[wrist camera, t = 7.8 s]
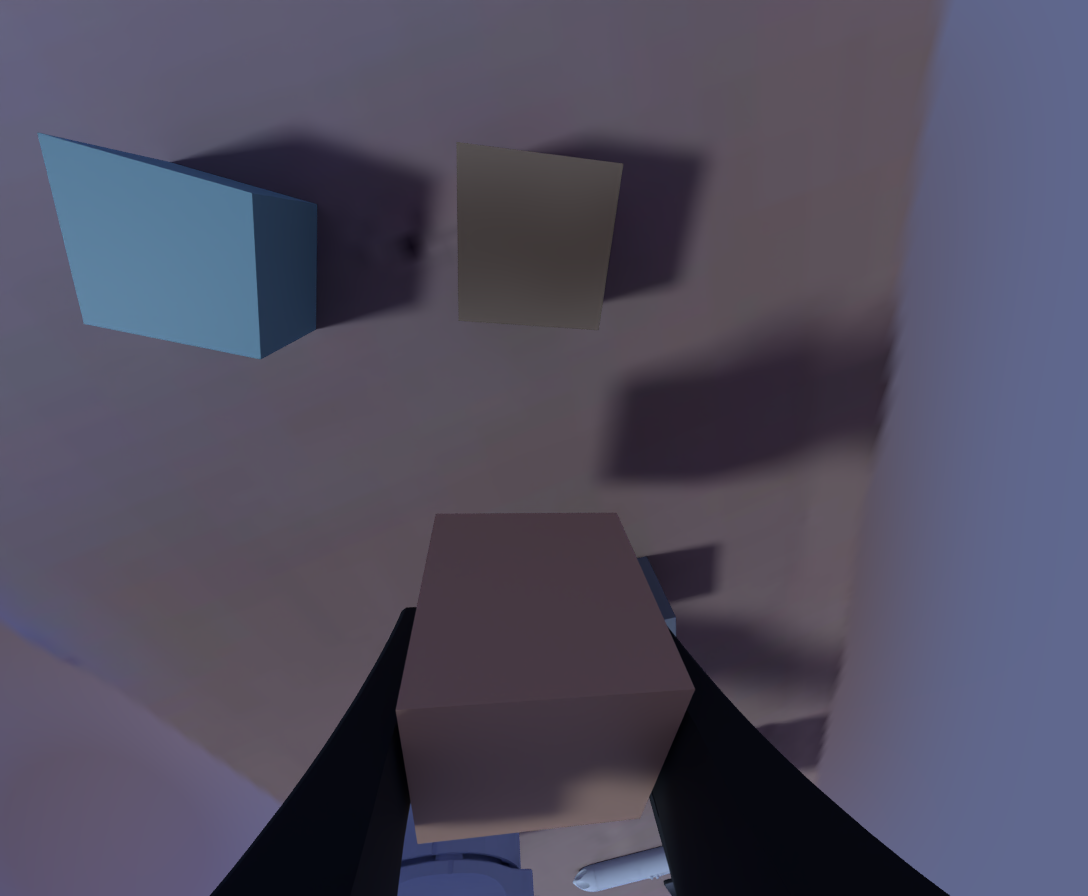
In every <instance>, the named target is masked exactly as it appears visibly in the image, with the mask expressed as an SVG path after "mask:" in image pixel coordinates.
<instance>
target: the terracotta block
mask: <svg viewBox="0 0 1088 896" xmlns="http://www.w3.org/2000/svg"><path fill="white" fill-rule="evenodd" d="M694 691H695V688H694V685H693V683H692V681H691V679H690V676H689V674H688V672H687V670H686V667H685V665H684V663H683V661H682V658H681V656H680V654H679V652H678V649H677V647H676V645H675V643H674V640H673V638H672V636H671V634H670V631H669V629H668V627H667V625H666V622H665V620H664V618H663V616H662V614H661V611H660V609H659V607H658V605H657V602H656V600H655V598H654V596H653V593H652V591H651V589H650V587H649V584H648V582H647V580H646V578H645V575H644V573H643V571H642V569H641V566H640V564H639V562H638V560H637V557H636V555H635V553H634V551H633V548H632V546H631V544H630V542H629V539H628V537H627V535H626V533H625V530H624V528H623V526H622V524H621V521H620V519H619V517H618V515H617V513H497V514H436V516H435V521H434V525H433V530H432V535H431V540H430V545H429V550H428V555H427V560H426V564H425V569H424V574H423V579H422V584H421V589H420V594H419V599H418V603H417V608H416V613H415V618H414V623H413V628H412V633H411V638H410V643H409V647H408V652H407V657H406V662H405V667H404V672H403V677H402V682H401V686H400V691H399V696H398V701H397V706H396V716H397V722H398V728H399V734H400V740H401V746H402V752H403V758H404V764H405V770H406V777H407V783H408V789H409V795H410V801H411V807H412V813H413V819H414V825H415V832H416V838H417V844H423V843H432V842H440V841H449V840H458V839H466V838H475V837H484V836H492V835H501V834H510V833H518V832H527V831H536V830H544V829H553V828H562V827H570V826H579V825H588V824H596V823H605V822H614V821H623V820H631V819H640V818H641V815H642V813H643V811H644V808H645V806H646V804H647V801H648V799H649V796H650V794H651V792H652V789H653V787H654V785H655V782H656V780H657V778H658V775H659V773H660V771H661V768H662V766H663V764H664V761H665V759H666V757H667V754H668V752H669V749H670V747H671V745H672V742H673V740H674V738H675V735H676V733H677V731H678V728H679V726H680V724H681V721H682V719H683V717H684V714H685V712H686V710H687V707H688V705H689V703H690V700H691V698H692V695H693V693H694Z"/></svg>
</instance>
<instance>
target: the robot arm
mask: <svg viewBox="0 0 1088 896" xmlns="http://www.w3.org/2000/svg"><path fill="white" fill-rule="evenodd" d="M416 608H417V607H410V608H405V609H404V610H402V612H401V614H400V616H399V619H398V621H397V623H396V625H395V627H394V629H393V631H392V633H391V635H390V637H389V639H388V641H387V643H386V645H385V647H384V649H383V651H382V652H381V654H380V656H379V658H378V660H377V662H376V663H375V665H374V667H373V669H372V670H371V672H370V674H369V675H368V677H367V679H366V681H365V682H364V684H363V686H362V687H361V689H360V691H359V693H358V694H357V696H356V698H355V699H354V701H353V702H352V704H351V706H350V707H349V709H348V710H347V712H346V713H345V715H344V716H343V718H342V719H341V721H340V723H339V724H338V726H337V727H336V729H335V730H334V732H333V733H332V735H331V736H330V738H329V739H328V741H327V743H326V744H325V745H324V747H323V748H322V750H321V751H320V753H319V754H318V756H317V757H316V759H315V760H314V761H313V763H312V764H311V766H310V767H309V769H308V770H307V771H306V773H305V774H304V776H303V777H302V778H301V780H300V781H299V782H298V784H297V785H296V787H295V788H294V789H293V791H292V792H291V793H290V795H289V796H288V798H287V799H286V800H285V802H284V803H283V804H282V806H281V807H280V808H279V810H278V811H277V812H276V813H275V815H274V816H273V817H272V819H271V820H270V821H269V822H268V824H267V825H266V826H265V828H264V829H263V830H262V832H261V833H260V834H259V836H258V837H257V838H256V839H255V841H254V842H253V843H252V845H251V846H250V847H249V848H248V850H247V851H246V852H245V853H244V855H243V856H242V857H241V859H240V860H239V861H238V862H237V863H236V865H235V866H234V867H233V868H232V870H231V871H230V872H229V873H228V875H227V876H226V877H225V878H224V879H223V881H222V882H221V883H220V884H219V886H217V888H216V889H215V890H214V891H213V892H212V894H211V895H210V896H534V891H533V875H532V870H531V869H521V863H520V840H519V832H518V833H510V834H501V835H492V836H484V837H475V838H466V839H458V840H449V841H440V842H432V843H423V844H417V838H416V832H415V825H414V819H413V813H412V807H411V801H410V795H409V789H408V783H407V777H406V770H405V764H404V758H403V752H402V746H401V740H400V734H399V728H398V722H397V716H396V706H397V701H398V696H399V691H400V686H401V682H402V677H403V672H404V667H405V662H406V657H407V652H408V647H409V643H410V638H411V633H412V628H413V623H414V618H415V613H416ZM667 627H668V626H667ZM668 629H669V627H668ZM669 631H670V634H671V636H672V638H673V640H674V643H675V645H676V647H677V649H678V652H679V654H680V656H681V658H682V661H683V663H684V665H685V667H686V670H687V672H688V674H689V676H690V679H691V681H692V683H693V685H694V688H695V691H694V693H693V695H692V698H691V700H690V703H689V705H688V707H687V710H686V712H685V714H684V717H683V719H682V721H681V724H680V726H679V728H678V731H677V733H676V735H675V738H674V740H673V742H672V745H671V747H670V749H669V752H668V754H667V757H666V759H665V761H664V764H663V766H662V768H661V771H660V773H659V775H658V778H657V780H656V782H655V785H654V787H653V789H652V792H653V796H654V799H655V803H656V806H657V810H658V814H659V818H660V823H661V827H662V831H663V835H664V840H665V844H666V848H667V853H668V857H669V861H670V866H671V870H672V875H673V880H674V884H675V889H676V893H677V896H950V895H948V894H947V893H946V892H944V891H943V890H942V889H940V888H939V887H938V886H936V885H935V884H934V883H932V882H931V881H930V880H928V879H927V878H926V877H924V876H923V875H922V874H920V873H919V872H918V871H917V870H915V869H914V868H912V867H911V866H910V865H909V864H908V863H906V862H905V861H904V860H903V859H901V858H900V857H899V856H898V855H896V854H895V853H894V852H893V851H892V850H890V849H889V848H888V847H886V846H885V845H884V844H883V843H882V842H880V841H879V840H878V839H877V838H876V837H874V836H873V835H872V834H871V833H869V832H868V831H867V830H866V829H864V828H863V827H862V826H861V825H860V824H859V823H858V822H857V821H855V820H854V819H853V818H852V817H851V816H850V815H849V814H847V813H846V812H845V811H844V810H843V809H842V808H840V807H839V806H838V805H837V804H836V803H835V802H833V801H832V800H831V799H830V798H829V797H828V796H827V795H825V794H824V793H823V792H822V791H821V790H820V789H819V788H817V787H816V786H815V785H814V784H813V783H812V782H811V781H810V780H809V779H807V778H806V777H805V776H804V775H803V774H802V773H801V772H800V771H799V770H798V769H797V768H796V767H795V766H794V765H793V764H792V763H790V762H789V761H788V760H787V759H786V758H785V757H784V756H783V755H782V754H781V753H780V752H779V751H778V750H777V749H776V748H775V747H774V746H773V745H772V744H771V743H770V742H769V741H768V740H767V739H766V738H765V737H764V736H763V735H762V734H761V733H760V732H759V731H758V730H757V729H756V728H755V727H754V726H753V725H752V724H751V723H750V722H749V721H748V720H747V719H746V718H745V717H744V715H743V714H742V713H741V712H740V711H739V710H738V709H737V708H736V707H735V706H734V705H733V703H732V702H731V701H730V700H729V699H728V698H727V697H726V696H725V695H724V694H723V692H722V691H721V690H720V689H719V688H718V687H717V686H716V684H715V683H714V682H713V681H712V680H711V679H710V678H709V676H708V675H707V674H706V673H705V672H704V670H703V669H702V668H701V667H700V666H699V664H698V663H697V662H696V661H695V660H694V659H693V657H692V656H691V655H690V654H689V652H688V651H687V650H686V649H685V648H684V646H683V645H682V644H681V643H680V641H679V640H678V639H677V637H676V636H675V635H674V634H673V632H672V631H671V630H670V629H669Z"/></svg>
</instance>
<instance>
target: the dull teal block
mask: <svg viewBox="0 0 1088 896" xmlns="http://www.w3.org/2000/svg"><path fill="white" fill-rule="evenodd" d="M38 137H39V141H40V145H41V149H42V154H43V158H44V162H45V166H46V170H47V174H48V178H49V182H50V186H51V190H52V195H53V199H54V203H55V207H56V211H57V215H58V219H59V223H60V227H61V231H62V235H63V240H64V244H65V248H66V252H67V256H68V260H69V264H70V268H71V272H72V276H73V281H74V285H75V289H76V293H77V297H78V301H79V305H80V309H81V313H82V317H83V321H84V324H88V325H93V326H98V327H103V328H108V329H113V330H118V331H123V332H128V333H133V334H138V335H143V336H148V337H152V338H157V339H162V340H167V341H172V342H177V343H182V344H187V345H192V346H197V347H202V348H207V349H212V350H217V351H222V352H227V353H232V354H237V355H242V356H247V357H252V358H257V359H262V358H264V357H266V356H268V355H270V354H272V353H273V352H275V351H277V350H279V349H281V348H283V347H284V346H286V345H288V344H290V343H292V342H294V341H296V340H297V339H299V338H301V337H303V336H305V335H307V334H309V333H310V332H312V331H314V330H316V282H317V204H315V203H311V202H308V201H304V200H301V199H297V198H294V197H290V196H287V195H283V194H280V193H276V192H273V191H269V190H266V189H262V188H259V187H255V186H252V185H248V184H245V183H241V182H238V181H234V180H231V179H227V178H224V177H220V176H217V175H213V174H210V173H206V172H203V171H199V170H196V169H192V168H189V167H185V166H182V165H178V164H175V163H171V162H167V161H163V160H158V159H154V158H149V157H145V156H140V155H136V154H131V153H127V152H122V151H118V150H113V149H109V148H105V147H100V146H96V145H91V144H87V143H82V142H78V141H73V140H69V139H64V138H60V137H55V136H51V135H46V134H42V133H38Z"/></svg>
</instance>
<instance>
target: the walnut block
mask: <svg viewBox="0 0 1088 896" xmlns="http://www.w3.org/2000/svg"><path fill="white" fill-rule="evenodd" d="M622 170H623V163H615V162H607V161H599V160H592V159H584V158H576V157H568V156H561V155H553V154H545V153H538V152H530V151H522V150H514V149H507V148H499V147H491V146H483V145H476V144H468V143H460V142H457V222H458V305H459V321H471V322H486V323H500V324H515V325H529V326H544V327H558V328H573V329H588V330H599V325H600V318H601V311H602V304H603V298H604V291H605V284H606V277H607V271H608V264H609V257H610V251H611V244H612V237H613V230H614V224H615V217H616V210H617V203H618V197H619V190H620V183H621V176H622Z"/></svg>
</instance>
